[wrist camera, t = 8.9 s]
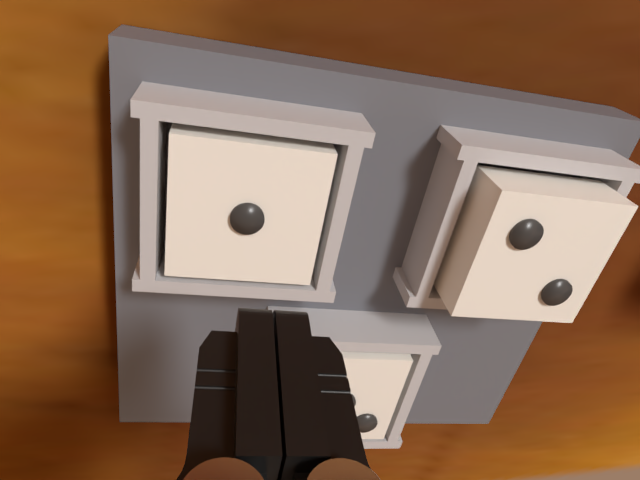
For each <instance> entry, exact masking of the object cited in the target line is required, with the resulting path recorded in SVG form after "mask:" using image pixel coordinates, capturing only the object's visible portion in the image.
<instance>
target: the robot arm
mask: <svg viewBox="0 0 640 480" xmlns="http://www.w3.org/2000/svg"><path fill="white" fill-rule="evenodd" d="M350 392H351V390H350V385H349V381H348V378H347V372H346V368H345V363H344V359H343V355H342V353H341V352H340V351H339V349H338V348H337V347H336V345H335V344H334V343H333V341H332V340H331V339H330V337H320V336H312V334H311V328H310V322H309V316H308V313H307V312H298V311H283V310H274V311H273V312H272V310H266V309H252V308H238V312H237V319H236V327H235V332H231V331H214V330H212V331H211V332H210V333H209V335H208V336H207V337H206V339H205V340H204V342H203V343H202V344H201V346H200V347H199V354H198V363H197V372H196V380H195V389H194V397H193V405H192V414H191V422H190V431H189V439H188V448H187V456H186V461H185V465H184V467H183V470H182V472H181V473H180V475H179V477H178V478H177V480H380V479H379V477H378V476H377V475H376V474H375V473H374V472H373V471H372V470H371V469H370V467H369V465H368V462H367V459H366V455H365V451H364V446H363V442H362V438H361V433H360V429H359V425H358V420H357V416H356V411H355V407H354V403H353V398H352V395H351V394H350Z"/></svg>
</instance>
